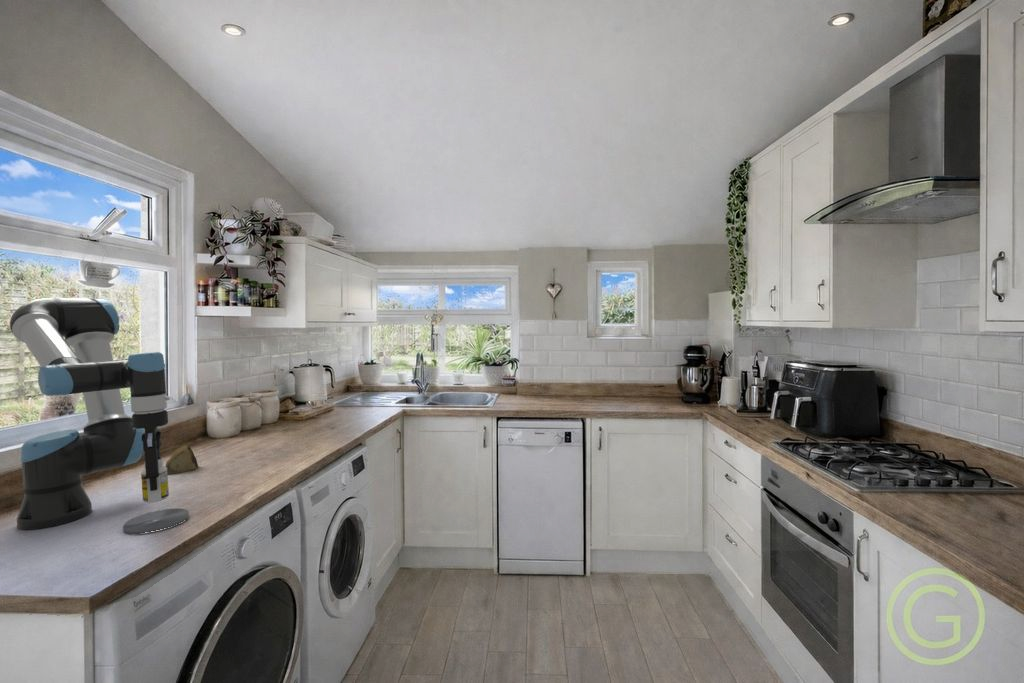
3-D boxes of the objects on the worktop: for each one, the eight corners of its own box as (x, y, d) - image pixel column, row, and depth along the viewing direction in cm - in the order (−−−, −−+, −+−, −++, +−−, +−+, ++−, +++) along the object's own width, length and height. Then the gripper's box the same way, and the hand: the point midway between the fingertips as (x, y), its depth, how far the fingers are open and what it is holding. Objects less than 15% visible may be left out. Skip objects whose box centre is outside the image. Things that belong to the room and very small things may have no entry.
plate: (120, 539, 120) (119, 534, 120) (127, 520, 132) (126, 516, 132) (188, 525, 128) (188, 520, 127) (189, 508, 139) (189, 504, 139)
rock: (155, 471, 170) (185, 465, 172) (158, 449, 175) (188, 443, 176) (171, 481, 179) (199, 475, 180) (173, 460, 183) (201, 454, 185)
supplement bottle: (138, 501, 128) (136, 463, 128) (162, 494, 133) (159, 457, 133) (149, 504, 126) (146, 465, 125) (173, 497, 130) (170, 459, 130)
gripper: (165, 414, 123) (171, 505, 123) (169, 405, 138) (174, 486, 139) (127, 418, 119) (134, 512, 119) (135, 408, 134) (141, 492, 135)
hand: (155, 498), depth 129 cm, fingers closed on supplement bottle, 6 cm apart
